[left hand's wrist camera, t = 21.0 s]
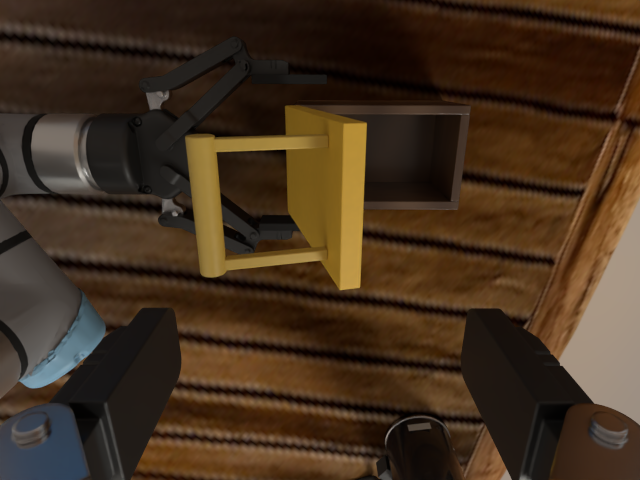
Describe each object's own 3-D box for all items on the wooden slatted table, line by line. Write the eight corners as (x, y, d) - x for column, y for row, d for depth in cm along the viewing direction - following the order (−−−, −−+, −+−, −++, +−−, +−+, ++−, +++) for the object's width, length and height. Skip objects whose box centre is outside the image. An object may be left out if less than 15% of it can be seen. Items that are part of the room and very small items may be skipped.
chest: (443, 100, 44) (471, 105, 36) (434, 187, 47) (458, 209, 39) (297, 100, 44) (292, 104, 36) (299, 186, 47) (294, 209, 39)
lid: (367, 122, 21) (180, 126, 19) (360, 288, 24) (201, 308, 22) (299, 105, 35) (189, 106, 33) (301, 210, 38) (201, 218, 36)
